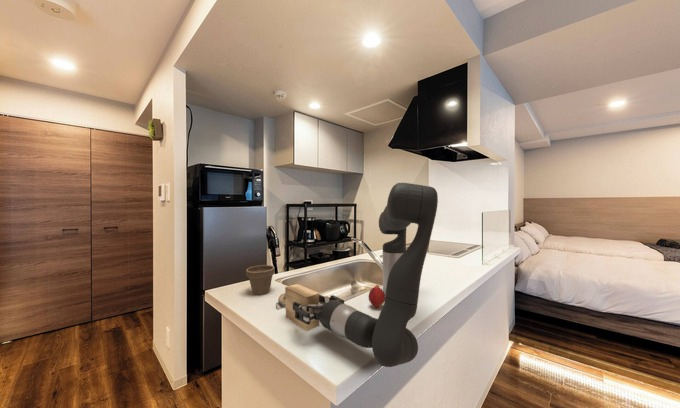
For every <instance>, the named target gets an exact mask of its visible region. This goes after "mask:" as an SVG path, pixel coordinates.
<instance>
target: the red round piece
mask: <svg viewBox="0 0 680 408" xmlns="http://www.w3.org/2000/svg"><path fill="white" fill-rule="evenodd" d="M368 301H369V303H370V304H371V305H372V306H373V307H375V308H380V306H382V305H384V302H385V294H384V292H383V288H381V287H380V285H379V284H376V285H375V286H374V287H372V288H371V289H370V290H369V292H368Z"/></svg>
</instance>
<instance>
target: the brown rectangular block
mask: <svg viewBox="0 0 680 408" xmlns="http://www.w3.org/2000/svg"><path fill="white" fill-rule="evenodd" d="M284 287H285V288H284V289H285V290H284V291H285V293H284V294H285V301H286V303H285V319H288V320H289V321H291V322H292V323H294V324H296V325H297V326H299V327H300V328H302V329H304V330H305V331H306V332H308V331H311V330H312V329H315V328H317V327H320V321H319V320H315V319H312V320H310V324H305V323H303V322H301V321H300V320H298V319H296V318H295V311H294V310H293V302H297V303H299V304H301V305H304V306H307V305H308V304H319V295H320V294H319V293H320V292H318V291H315V290H312V289H310V288H308V287H306V286H303V285H301V284H298V283H295V284H292V285H288V286H284ZM303 310H304V311H306V312H307V310H306V309H303ZM310 313H311V314H313V308H310Z"/></svg>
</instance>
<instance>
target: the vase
mask: <svg viewBox="0 0 680 408" xmlns="http://www.w3.org/2000/svg"><path fill="white" fill-rule="evenodd" d="M275 305H276V310H280V309H282V306H283V305H286V301H285V293H280V295H279V296H278V299H277V302H275Z"/></svg>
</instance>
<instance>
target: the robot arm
mask: <svg viewBox="0 0 680 408" xmlns="http://www.w3.org/2000/svg"><path fill="white" fill-rule="evenodd" d="M438 198H439V197H438V192H437V190H436V188H434V187H433V186H430V185H429V186H428V185H424V184H423V185H422V184H417V183H411V182H410V183H409V182H397V183H396V184H394V185H393V186H392V187H391V189H390V191H389V194H388V197H387V204H386V206H385V207H384V209H383V211H382V212H381V213H380V215H379V217H378V227H379V230H380V233H381V234H383V235H396V237H395V238H393V239H392V240H390V241H387V242H384V243H383V245H382V290H383V292H384V294H385V301H384V303H383V306H382V308H381V310H380V313H379V314H378V318H376V317H373V316H371V315H369V314H367V313H365V312H362V311H360V310H359V309H357V308H356V307H353V306H351V305H349V304H346V303H345V300H344V299H342V298H339V296H336V295H330V297H329V296H324V295H322V294H319V304H308V305H307V306H304V305H301V304H299V303H297V302H293V310H294V311H295V318H296V319H298V320H300V321H301V322H303V323H305V324H310V320H312V319H315V320H319V323H320V324H321V326H322V327H323V328H325V329H327V330H329V331H330V332H332V333H334V334H335V335H336V336H339V337H340V338H343V339H345V340H349V341H350V342H352V343H353V344H355V345H357V346H359V347H361V348H364V349H371V350H372V354H373V356H374V358H375V360H376V362H378V364H379V365H381V366H382V367H386V368H392V367H397V366H401V365H403V364H407V363H410V362H411V361H413V360H414V359H415V358H416V357H417V354H418V352H419V351H418V350H419V343H418V340H417V338H416V335H414V333H413V332H412V331H411V330H410V329H408V328H407V324H408V322H409V321H410V320H411V319H413V318H414V317H416V314H417V310H418V302H419V293H420V287H421V285H420V284H421V279H422V275H423V274H422V273H423V268H424V264H425V260H426V258H427V257H426V256H427V253H428V250H429V245H430V242H431V241H430V240H431V237H432V233H433V229H434V224H435V220H436V215H437V210H438V203H439V201H438V200H439V199H438ZM411 224H416V225H417V229H416V233H415V236H414V238H413V239H412V241H411V243H410V244H409V245H408V247H407V229H408V227H410V225H411ZM310 308H313V314H311V313H310ZM303 309H306V310H307V312H306V311H304V310H303Z"/></svg>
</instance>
